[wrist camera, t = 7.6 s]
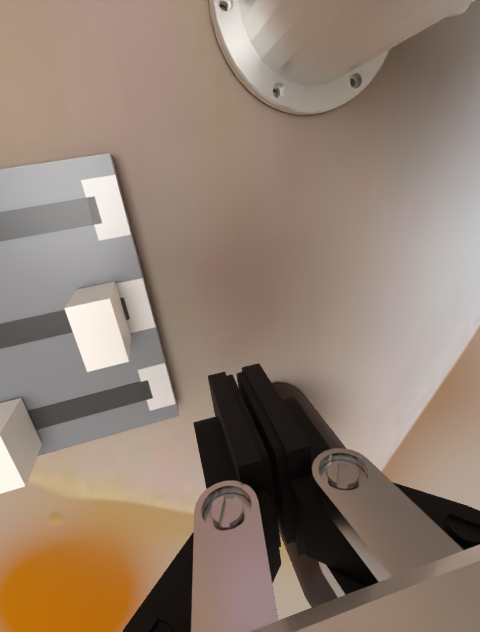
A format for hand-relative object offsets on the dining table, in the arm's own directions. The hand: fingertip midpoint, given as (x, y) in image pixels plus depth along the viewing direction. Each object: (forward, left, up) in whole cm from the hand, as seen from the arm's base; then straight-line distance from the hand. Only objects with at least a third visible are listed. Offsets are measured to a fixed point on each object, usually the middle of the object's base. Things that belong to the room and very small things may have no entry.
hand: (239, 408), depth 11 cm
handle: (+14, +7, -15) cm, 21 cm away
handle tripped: (+6, 0, -15) cm, 16 cm away
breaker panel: (+10, 0, -17) cm, 19 cm away
